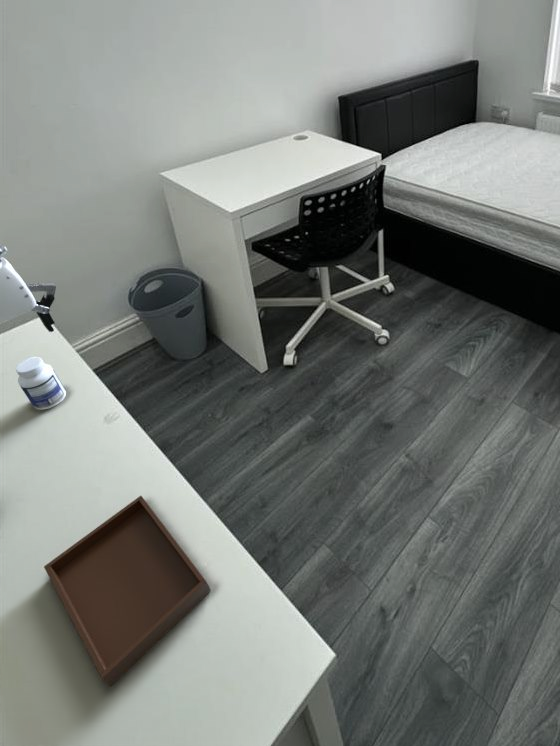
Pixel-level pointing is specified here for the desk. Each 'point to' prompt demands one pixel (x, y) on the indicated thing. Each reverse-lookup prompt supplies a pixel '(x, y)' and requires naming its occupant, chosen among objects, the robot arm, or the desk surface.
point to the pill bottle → (40, 383)
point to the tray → (125, 587)
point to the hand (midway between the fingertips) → (18, 342)
